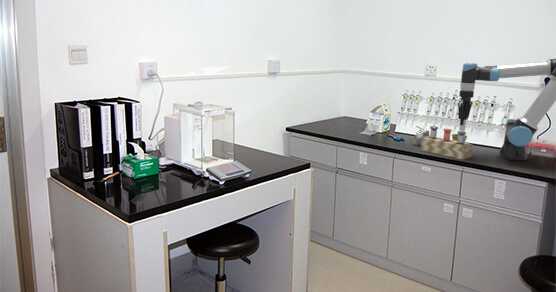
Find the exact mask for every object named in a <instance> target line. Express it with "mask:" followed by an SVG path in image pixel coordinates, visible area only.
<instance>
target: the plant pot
mask: <svg viewBox="0 0 556 292" xmlns="http://www.w3.org/2000/svg"><path fill="white" fill-rule="evenodd" d="M451 137H452V140H455V141H457V140H458V133H452V134H451ZM467 138H468V135H467V134H465V137H464V142H465V143H466V140H467Z"/></svg>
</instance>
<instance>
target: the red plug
mask: <svg viewBox="0 0 556 292" xmlns="http://www.w3.org/2000/svg"><path fill="white" fill-rule="evenodd" d="M443 131H444V133H443V137H442V138H443V141H445V142H450V140H451V132H453V130H452V129H451V128H443Z"/></svg>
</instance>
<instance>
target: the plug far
mask: <svg viewBox="0 0 556 292" xmlns="http://www.w3.org/2000/svg"><path fill="white" fill-rule="evenodd" d="M429 128H430V132H429V136H430V138H431V139H436V137H437V134H438V129H439V127H438V126H435V125H432V126H430V127H429Z"/></svg>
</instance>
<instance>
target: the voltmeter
mask: <svg viewBox="0 0 556 292" xmlns="http://www.w3.org/2000/svg"><path fill="white" fill-rule="evenodd" d="M415 128H418V129H419V130H418V131H417V132H416V133H415V134H416V135H415V134H414V136H413V137H414V139H415V143H416V146H418V147H419V146H420V147H421V138H422V137H426V136H430V131H429V130H427V129H426V130H425V129H424V128H421V127H419V126H418V125H416V127H415Z"/></svg>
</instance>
